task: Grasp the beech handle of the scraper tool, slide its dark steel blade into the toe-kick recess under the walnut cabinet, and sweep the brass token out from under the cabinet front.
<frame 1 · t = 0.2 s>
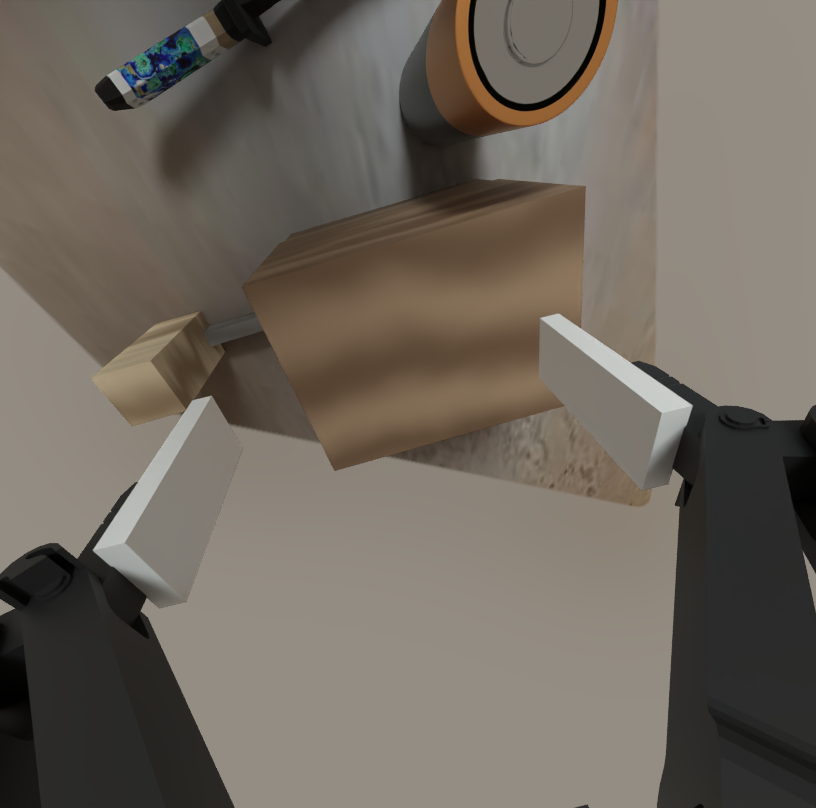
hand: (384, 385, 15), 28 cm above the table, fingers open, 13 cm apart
cabinet: (402, 281, 40), on the table
blade tool: (191, 338, 40), on the table
knife: (291, 0, 27), on the table
battery: (438, 96, 32), on the table
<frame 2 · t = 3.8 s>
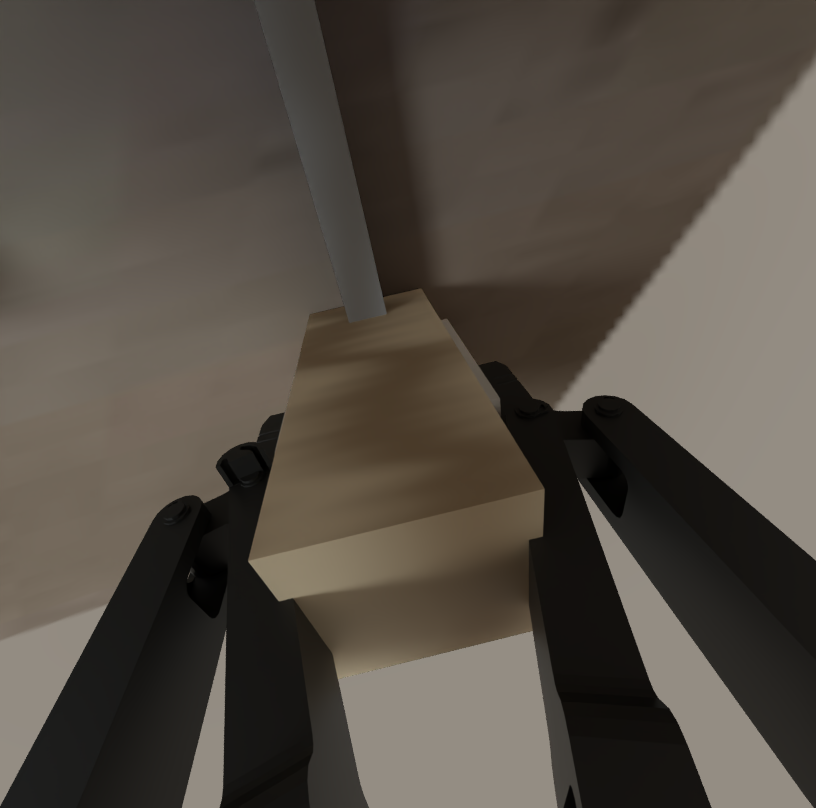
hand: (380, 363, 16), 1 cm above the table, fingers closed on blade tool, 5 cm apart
blade tool: (378, 351, 17), on the table, touching gripper
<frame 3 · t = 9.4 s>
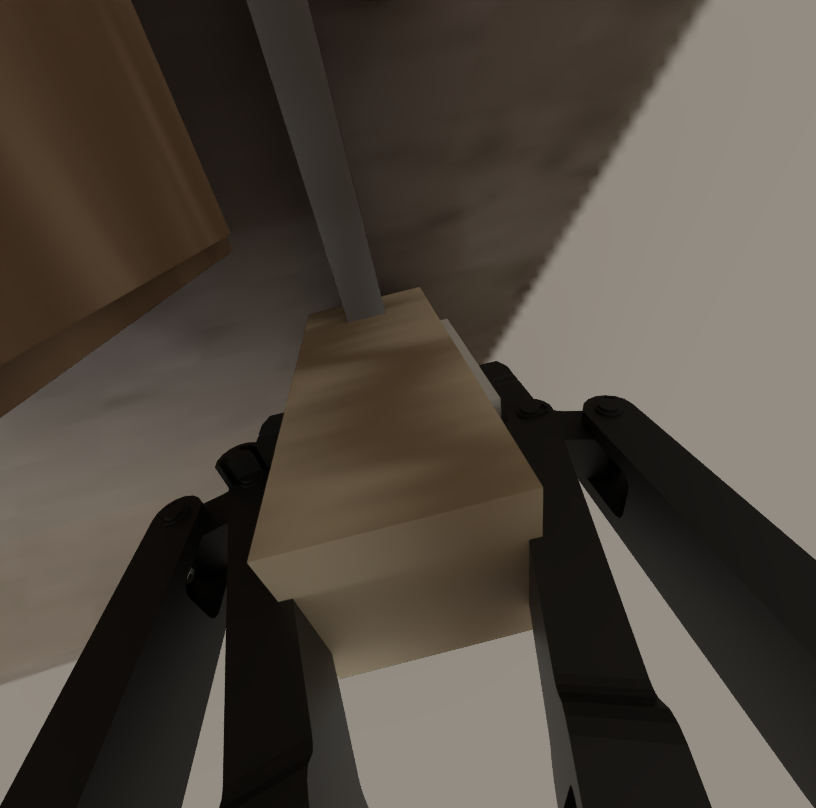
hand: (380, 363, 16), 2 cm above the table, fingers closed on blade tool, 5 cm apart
blade tool: (378, 351, 17), point 1 cm above the table, touching gripper, token
when the fingers open (2 cm above the table, at t = 10.2 s): blade tool drops 1 cm, on the table.
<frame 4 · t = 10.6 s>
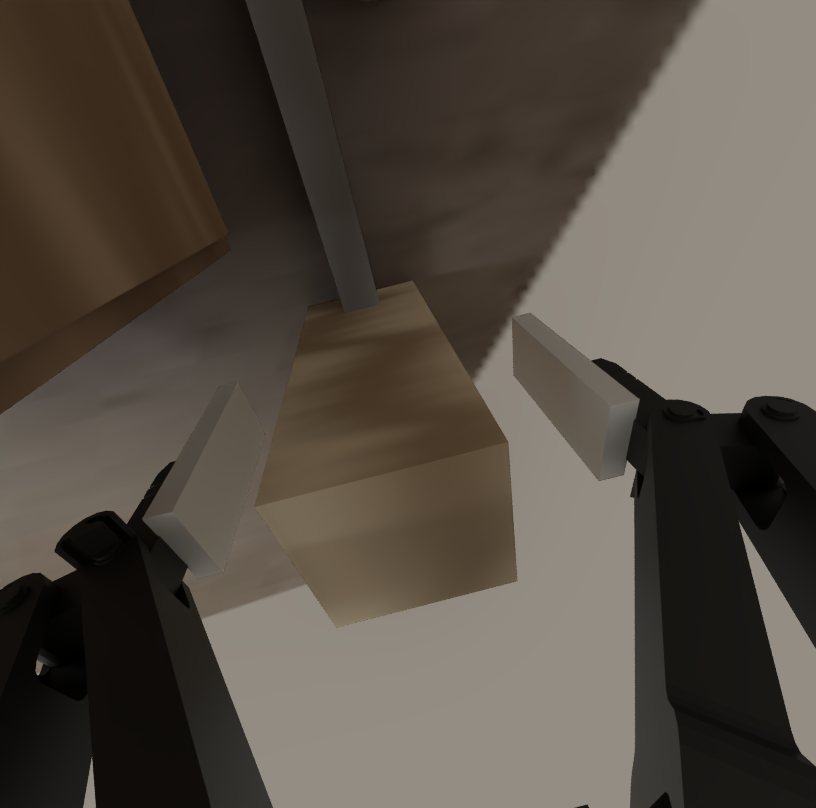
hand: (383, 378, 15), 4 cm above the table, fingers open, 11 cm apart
blade tool: (374, 341, 18), on the table
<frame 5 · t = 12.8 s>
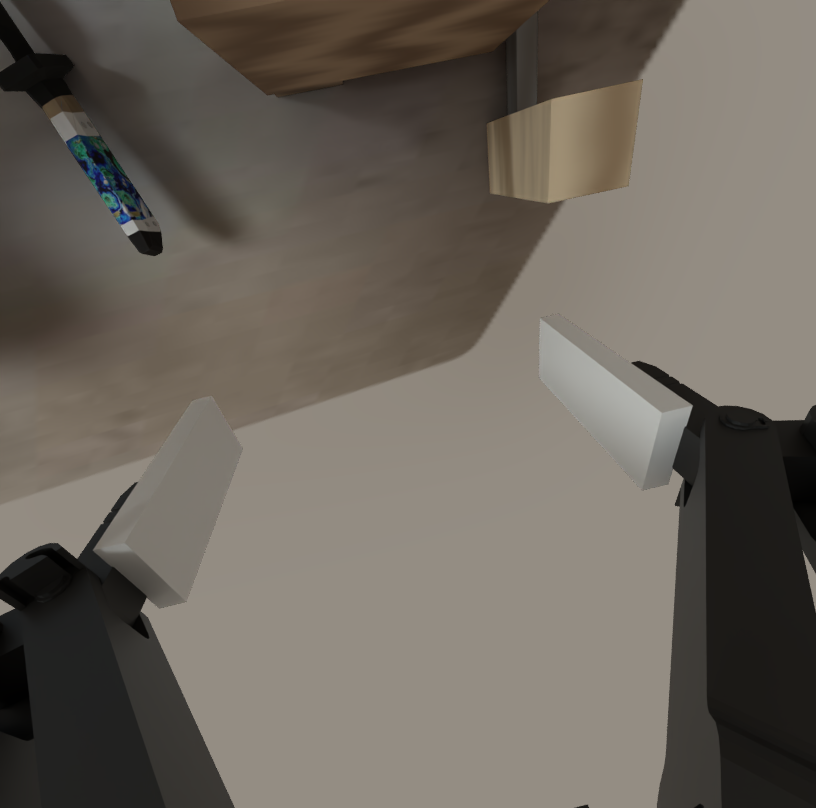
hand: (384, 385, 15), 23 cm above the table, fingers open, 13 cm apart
blade tool: (517, 153, 31), on the table
knife: (17, 13, 24), on the table
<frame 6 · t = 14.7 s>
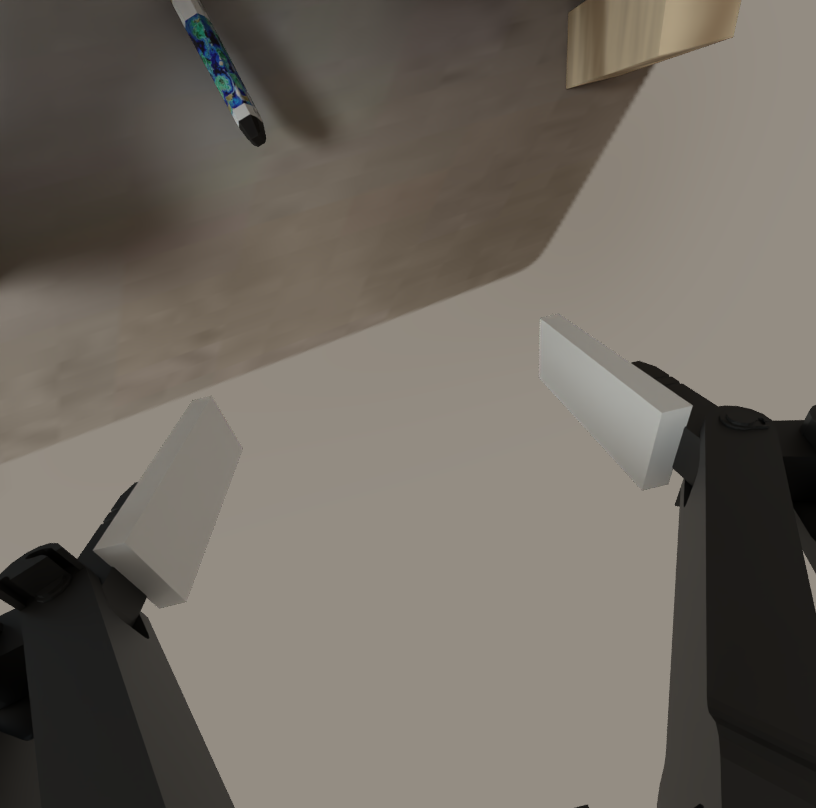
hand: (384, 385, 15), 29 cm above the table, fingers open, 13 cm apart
blade tool: (594, 45, 32), on the table
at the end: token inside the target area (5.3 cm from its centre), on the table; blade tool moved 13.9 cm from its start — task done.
